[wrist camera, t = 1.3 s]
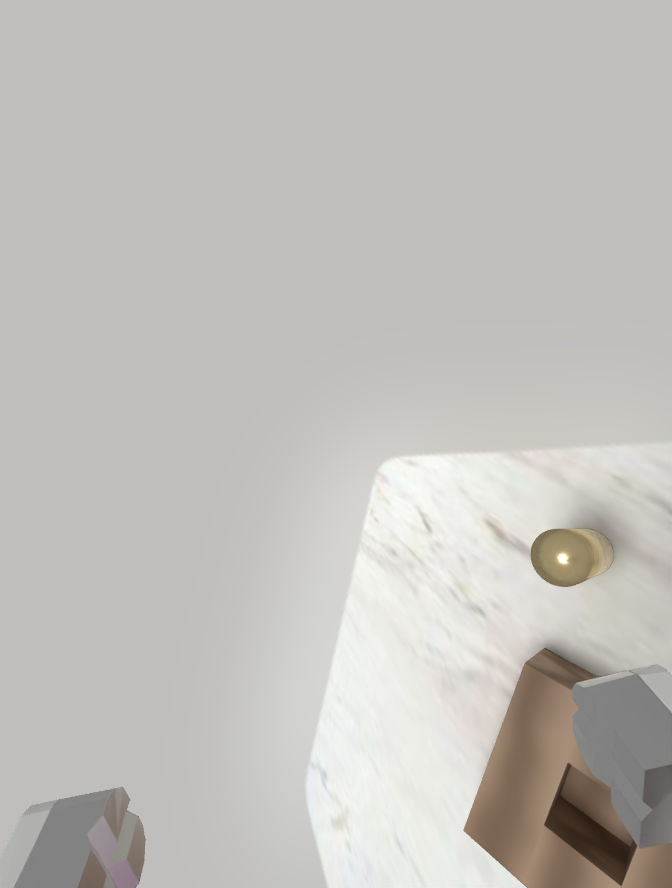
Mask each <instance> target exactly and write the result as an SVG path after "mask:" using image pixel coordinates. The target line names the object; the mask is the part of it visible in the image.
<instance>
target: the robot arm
mask: <svg viewBox="0 0 672 888" xmlns="http://www.w3.org/2000/svg"><path fill="white" fill-rule="evenodd" d="M572 699H573V701H574V702H575V704H576V705H577V706H578V710H577V711H576V713H575V714H574V715H573V717H572V720H573V732H574V736H575V739H576V742H577V745H578V748H579V750H580V752H581V754H582V757H583V759H584V761H585V762H586V764H587V766H588V767H589V769H590V771H591V772H592V774H593V776H594V777H595V778H597V779H599V780H600V781H602V782H603V783H605V784H606V785H608V786H609V787H611V805H612V806H613V808H614V809H615V811H616V813H617V814H618V816H619V817H620V819H621V820H622V822H623V824H624V825H625V827H626V828H627V830H628V832H629V833H630V835H631V836H632V838H633V840H634V841H635V843H636V844H637V846H638V847H639V849H642V848H647V847H652V846H657V845H662V844H667V843H672V675H671V674H670V673H669V672H668V671H667V670H666V669H664V668H663V667H661V666H659V665H652V666H647V667H643V668H639V669H635V670H631V671H623V672H619V673H615V674H610V675H606V676H602V677H598V678H594V679H590V680H586V681H582V682H578V683H575V685H574V686H573V688H572ZM129 801H130V798H129V797H128V795H127V793H126V791H125V790H124V788H123V787H120V788H115V789H110V790H105V791H100V792H95V793H90V794H85V795H80V796H75V797H70V798H65V799H59V800H55V801H50V802H45V803H41V804H37V805H32V806H30V807H29V808H28V809H27V810H26V811H25V812H24V814H23V815H22V816H21V817H20V819H19V821H18V823H17V825H16V826H15V829H14V831H13V832H12V834H11V837H10V838H9V840H8V842H7V845H6V847H5V848H4V850H3V852H2V854H1V856H0V888H136V886H137V885H138V884H139V881H140V876H141V873H142V868H143V864H144V854H145V836H144V829H143V825H142V823H141V821H140V819H139V816H137V815H135V814H133V813H131V812H129V811H127V808H128V804H129Z"/></svg>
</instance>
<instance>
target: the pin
mask: <svg viewBox="0 0 672 888" xmlns="http://www.w3.org/2000/svg"><path fill="white" fill-rule="evenodd" d="M613 556H614V555H613V548H612V546H611V544H610V542H609V541H608V539H607V538H606V537H605V536H604V535H602V534H601V533H599V532H597V531H594V530H591V529H552V530H548V531H546V532H543V533H542V534H540V535H539V536H538V537H537V538H536V540H535V541H534V543H533V545H532V548H531V561H532V564H533V567H534V569H535V570H536V572H537V573H538V574H539V576H540V577H541V578H543V579H544V580H545V581H547V582H549V583H550V584H553V585H556V586H561V587H569V586H574V585H576V584H579V583H581V582H583V581H586V580H588V579H590V578H592V577H594V576H597V575H599V574H601V573H603V572H605V571H606V570H607V569H608V568H609V567H610V566H611V564H612V561H613Z"/></svg>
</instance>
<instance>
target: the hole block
mask: <svg viewBox="0 0 672 888" xmlns="http://www.w3.org/2000/svg"><path fill="white" fill-rule="evenodd" d="M594 678H598V677H596V676H594V675H592V674H590V673H589V672H587V671H585V670H583V669H581V668H580V667H578V666H576V665H574V664H572V663H571V662H569V661H567V660H565V659H563V658H562V657H560V656H558V655H556V654H554V653H553V652H551V651H549V650H547V649H545V648H544V649H543V650H542V651H540V652H539V653H538V654H536V655H535V656H534V657H532V658H531V659H530V660H528V661H527V662H526V663H525V664H524V667H523V670H522V672H521V675H520V678H519V680H518V683H517V686H516V689H515V691H514V694H513V697H512V700H511V702H510V705H509V708H508V710H507V713H506V716H505V719H504V721H503V724H502V727H501V729H500V732H499V735H498V738H497V740H496V743H495V746H494V749H493V751H492V754H491V757H490V759H489V762H488V765H487V768H486V770H485V773H484V776H483V778H482V781H481V784H480V787H479V789H478V792H477V795H476V798H475V800H474V803H473V806H472V808H471V811H470V814H469V817H468V819H467V822H466V825H465V827H464V830H463V831H464V832H466V833H467V834H468V835H469V836H470V837H471V838H472V839H473V840H474V841H476V842H477V843H478V844H479V845H480V846H481V847H482V848H483V849H484V850H486V851H487V852H488V853H489V854H490V855H491V856H492V857H493V858H494V859H496V860H497V861H498V862H499V863H500V864H501V865H502V866H503V867H505V868H506V869H507V870H508V871H509V872H510V873H511V874H512V875H513V876H515V877H516V878H517V879H518V880H519V881H520V882H521V883H522V884H523V885H525V886H526V887H527V888H672V843H667V844H662V845H657V846H652V847H647V848H642V849H639V847H638V846H637V844H636V843H635V841H634V840H633V838H632V836H631V835H630V833H629V832H628V830H627V828H626V827H625V825H624V824H623V822H622V820H621V819H620V817H619V816H618V814H617V813H616V811H615V809H614V808H613V806H612V805H611V787H609V786H608V785H606V784H605V783H603V782H602V781H600V780H599V779H597V778H595V777H594V776H593V774H592V772H591V771H590V769H589V767H588V766H587V764H586V762H585V761H584V759H583V757H582V754H581V752H580V750H579V748H578V745H577V742H576V739H575V736H574V732H573V720H572V717H573V715H574V714H575V713H576V711H577V710H578V706H577V705H576V704H575V702H574V701H573V699H572V688H573V686H574V685H575V683H578V682H582V681H586V680H590V679H594Z"/></svg>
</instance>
